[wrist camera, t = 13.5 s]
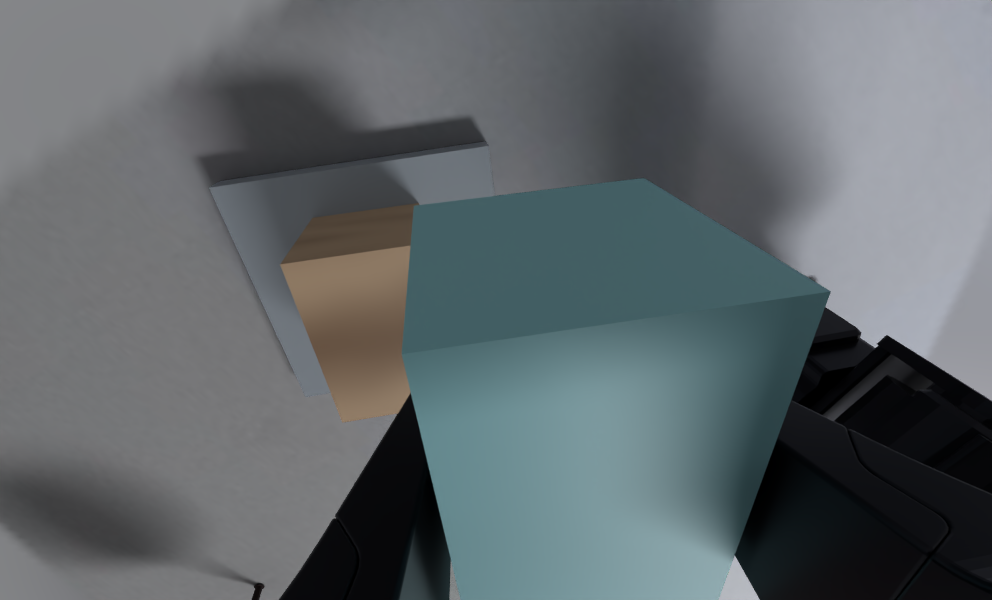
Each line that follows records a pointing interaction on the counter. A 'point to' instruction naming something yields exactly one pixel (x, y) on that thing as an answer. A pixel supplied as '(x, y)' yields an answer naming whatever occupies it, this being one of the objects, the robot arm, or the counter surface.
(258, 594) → the lollipop
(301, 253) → the walnut brick
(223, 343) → the counter surface
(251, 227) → the base plate
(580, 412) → the teal brick
